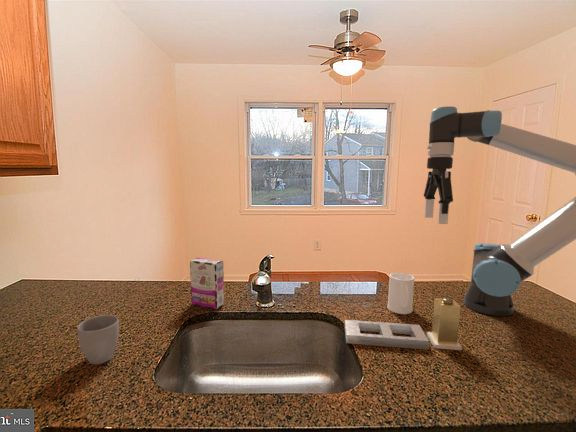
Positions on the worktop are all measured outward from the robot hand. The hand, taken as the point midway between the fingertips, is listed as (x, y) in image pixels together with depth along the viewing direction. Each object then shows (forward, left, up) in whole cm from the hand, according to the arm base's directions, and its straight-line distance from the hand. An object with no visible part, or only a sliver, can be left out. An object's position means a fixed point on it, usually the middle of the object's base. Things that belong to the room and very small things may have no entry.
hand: (435, 220), depth 104 cm
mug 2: (+10, +3, -32) cm, 34 cm away
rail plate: (+19, +22, -32) cm, 43 cm away
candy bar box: (+78, +8, -32) cm, 85 cm away
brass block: (+3, +22, -31) cm, 38 cm away
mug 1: (+93, +41, -32) cm, 106 cm away
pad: (+3, +22, -32) cm, 39 cm away
